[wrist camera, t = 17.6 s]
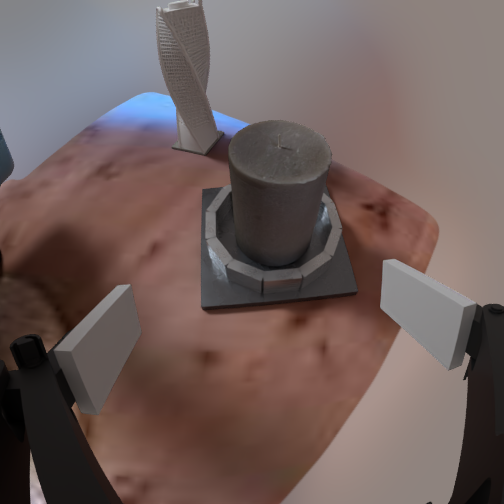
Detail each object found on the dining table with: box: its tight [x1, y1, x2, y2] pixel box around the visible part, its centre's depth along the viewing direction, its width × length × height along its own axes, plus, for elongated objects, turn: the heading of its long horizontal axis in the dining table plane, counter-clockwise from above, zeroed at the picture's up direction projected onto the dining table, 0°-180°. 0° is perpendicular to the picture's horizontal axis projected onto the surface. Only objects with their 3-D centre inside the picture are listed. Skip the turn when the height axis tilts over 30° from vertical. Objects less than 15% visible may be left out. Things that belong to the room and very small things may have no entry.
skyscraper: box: [156, 0, 224, 156], centre depth 38 cm, size 8×8×28 cm
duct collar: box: [201, 184, 358, 310], centre depth 36 cm, size 18×18×4 cm
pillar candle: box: [228, 120, 332, 266], centre depth 31 cm, size 10×10×15 cm
